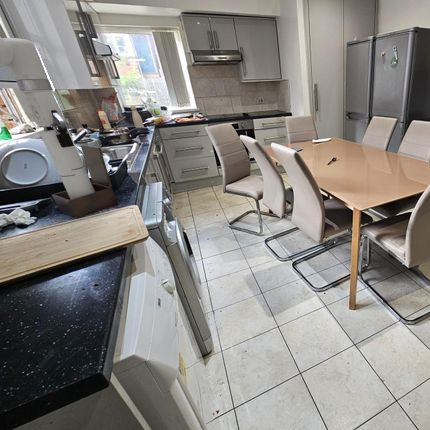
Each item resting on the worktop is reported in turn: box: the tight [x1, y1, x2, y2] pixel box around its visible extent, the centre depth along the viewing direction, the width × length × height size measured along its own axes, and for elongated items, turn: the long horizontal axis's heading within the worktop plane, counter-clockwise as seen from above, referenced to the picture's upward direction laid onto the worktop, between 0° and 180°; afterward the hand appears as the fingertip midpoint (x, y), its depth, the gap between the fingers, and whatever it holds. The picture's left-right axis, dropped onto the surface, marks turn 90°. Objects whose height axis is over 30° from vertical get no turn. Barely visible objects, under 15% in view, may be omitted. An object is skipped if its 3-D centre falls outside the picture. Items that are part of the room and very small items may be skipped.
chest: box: [51, 182, 119, 219], centre depth 99 cm, size 13×13×7 cm
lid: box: [80, 144, 113, 188], centre depth 101 cm, size 14×13×5 cm
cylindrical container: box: [38, 128, 95, 199], centre depth 93 cm, size 7×7×25 cm
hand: (62, 145), depth 90 cm, fingers closed on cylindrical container, 7 cm apart
